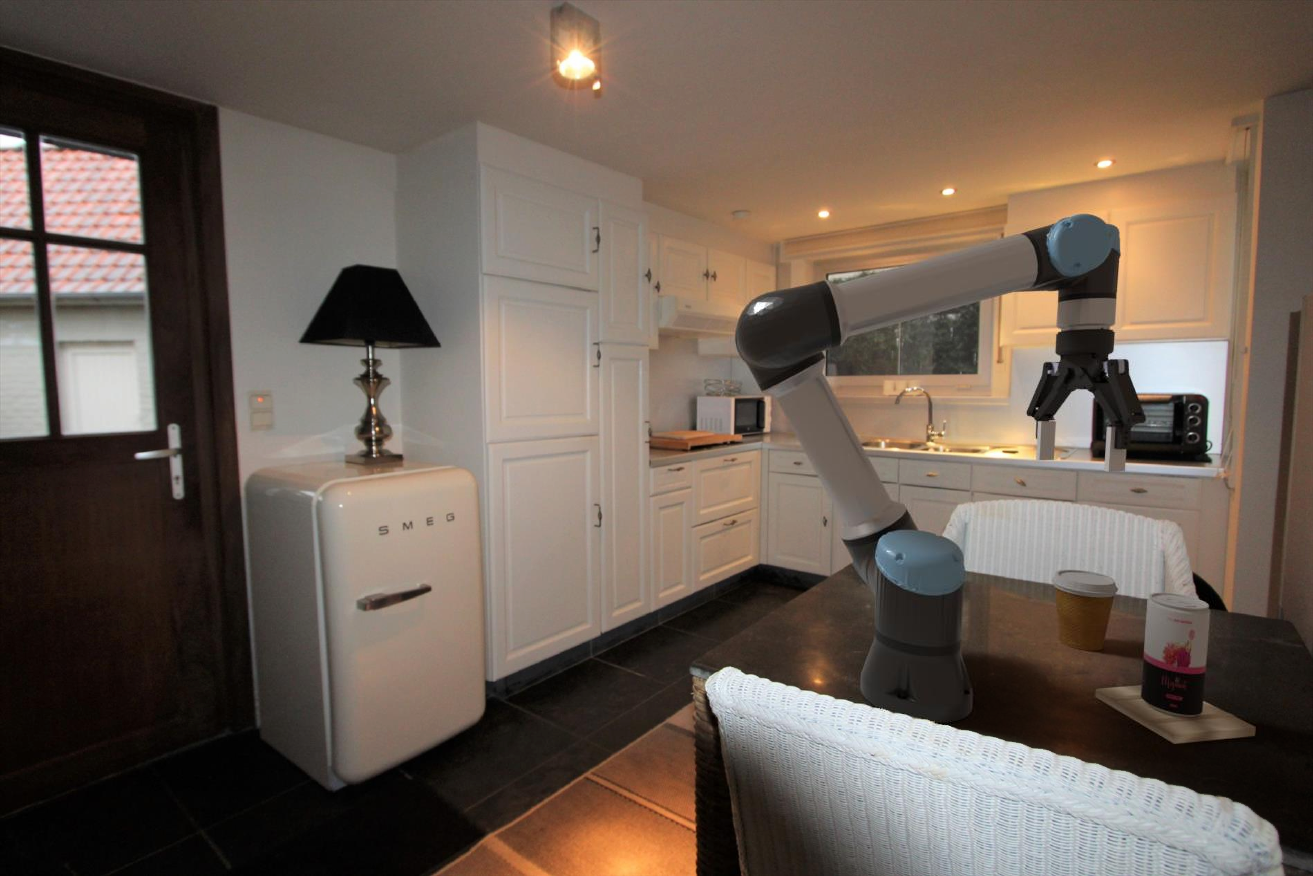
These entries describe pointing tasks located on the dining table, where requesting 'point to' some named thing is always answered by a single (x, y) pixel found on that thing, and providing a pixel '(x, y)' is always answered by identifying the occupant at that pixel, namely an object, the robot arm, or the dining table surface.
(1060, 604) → the disposable coffee cup
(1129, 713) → the trivet
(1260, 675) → the dining table surface
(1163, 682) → the beverage can
